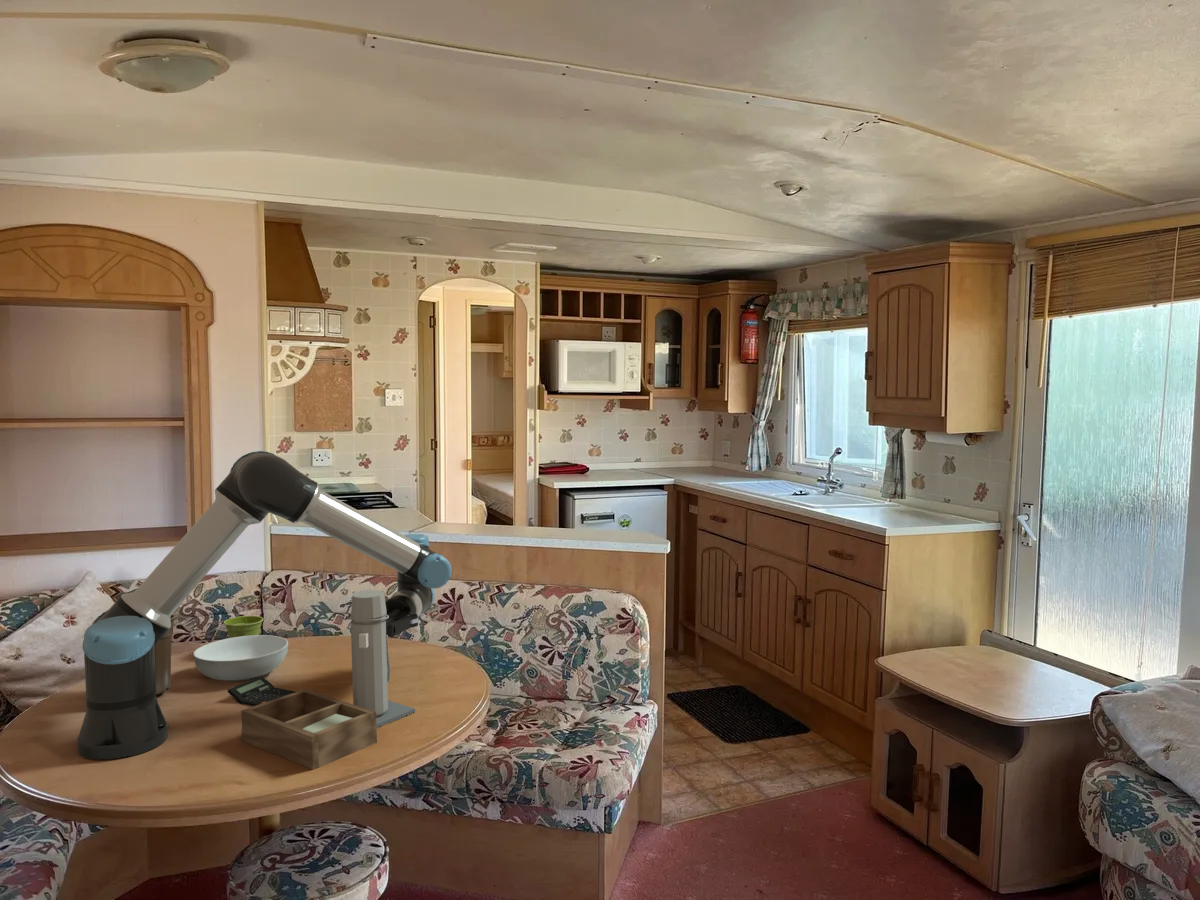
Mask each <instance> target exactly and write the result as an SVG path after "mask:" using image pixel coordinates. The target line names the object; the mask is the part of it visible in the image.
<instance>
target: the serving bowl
mask: <svg viewBox="0 0 1200 900" xmlns="http://www.w3.org/2000/svg"><path fill="white" fill-rule="evenodd" d="M288 647H289V640H287V639H286V638H284V637H282V636H276V635H270V634H269V635H267V634H259V635H250V636H240V637H234V638H229V637H228V638H223V639H219V640H215V641H212V642H210V643H207V644H205V645H204V644H203V645H202V646H199V647H198V648H196V649H195V650H194V651H193V654H192V657H193V662H194V664H195V667H196V669H198V671H199V672H200V673H201V674H203V675H204V676H205V677H207V678H209V679H213V680H218V681H226V682H227V681H228V682H241V681H243V682H244V681H246V680H247V681H249V680H253V679H255V678H258V677H260V676H264V675H266V674H268V673H270V672H272V671H274V670H275V669H277V668H278V667H279V666H281V664H282V663H283V662H284V660H285V658H286V656H287V653H288V649H289V648H288Z"/></svg>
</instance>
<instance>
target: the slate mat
mask: <svg viewBox="0 0 1200 900" xmlns="http://www.w3.org/2000/svg"><path fill="white" fill-rule="evenodd" d="M413 712H415V713H416V708H414V707H411V706H407V705H406V704H401V703H397V702H395V701H391V700H389V699H388V710H387V712H385V713H384V714H383V715H380V716H377V717H376V723H377V729H378V728H381V727H383V726H385V725H384V724H386V725H388V724H390V723H389V722H391V723H393V722H395V721H394V720H396V721H397V719H398V720H400V719H402V718H401V717H403V718H405V717H407V716H406V715H408V716H409V714H410V715H412V714H411V713H413ZM413 714H414V713H413ZM404 716H405V717H404ZM399 718H400V719H399ZM392 721H393V722H392ZM387 723H388V724H387ZM382 725H383V726H382ZM380 726H381V727H380Z"/></svg>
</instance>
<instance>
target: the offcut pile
mask: <svg viewBox="0 0 1200 900" xmlns="http://www.w3.org/2000/svg"><path fill="white" fill-rule="evenodd" d="M349 719H352V718H351V717H347V716H343V715H339V714H334V715H332V716H330V717H328V718H325V719H323V720H321V721H319V722H316V723H314V724H312V725H310V726H307V727H305V728H303V729H304V730H306V731H309V732H312V733H315V732H318V731H321V730H323V729H326V728H328V727H331V726H334V725H336V724H339V723H341V722H344V721H346V720H349Z"/></svg>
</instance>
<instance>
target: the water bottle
mask: <svg viewBox="0 0 1200 900" xmlns="http://www.w3.org/2000/svg"><path fill="white" fill-rule="evenodd" d="M351 596H352V597H351V607H350V608H351V610H350V615H349V617H348V618H349V619H350V638H351V639H350V640H351V642H350V644H351V645H350V646H351V670H352V671H351V672H352V673H351V677H352V704H353V705H356V706H359V707H363V708H366V709H369V710H372V711H375V712H376V717H377V716H380V715H383V714H384V713H385V712H387V710H388V700H389V698H388V697H389V693H388V684H389V683H390V681H391V663H390V662H391V661H390V655H389V654H390V653H389V645H388V635H386V619H388V618H389V616H388V615H386V614H387V612H386V604H385V602H386V599H385V598H386V597H385V592H384V591H382V590H376V589H375V590H374V589H372V590H361V591H356V592H354V593H352V595H351ZM386 616H387V617H386ZM360 633H368V636H369V646H368V647H367V648H359V634H360Z"/></svg>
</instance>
